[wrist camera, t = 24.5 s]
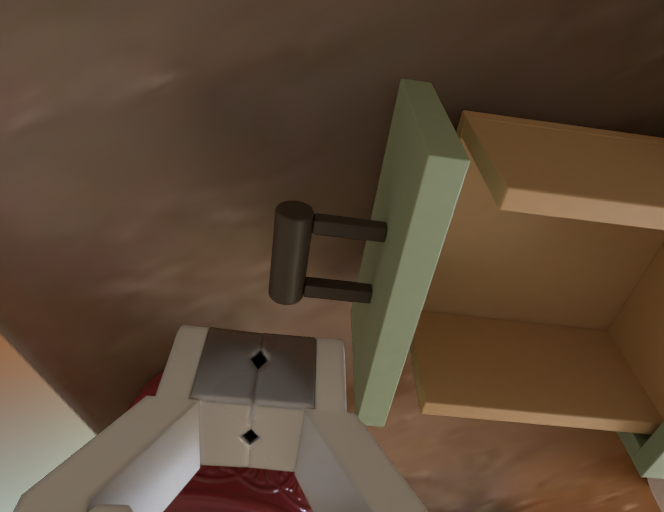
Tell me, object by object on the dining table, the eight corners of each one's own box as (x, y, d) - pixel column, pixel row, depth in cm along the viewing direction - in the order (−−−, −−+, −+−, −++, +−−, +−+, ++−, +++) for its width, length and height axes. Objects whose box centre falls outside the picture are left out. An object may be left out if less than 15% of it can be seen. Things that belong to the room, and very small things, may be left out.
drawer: (271, 303, 26) (254, 416, 20) (292, 62, 19) (276, 134, 13) (599, 337, 27) (667, 452, 22) (732, 125, 20) (883, 214, 15)
